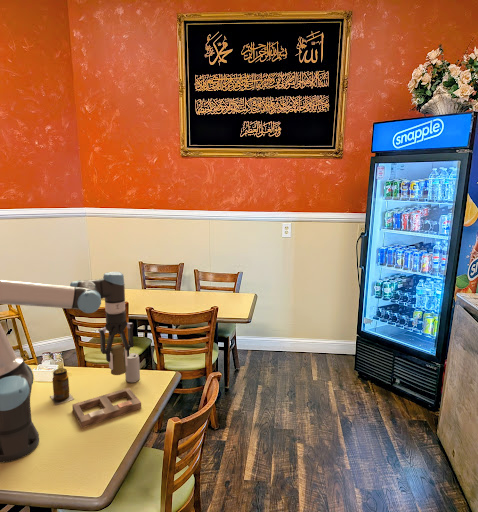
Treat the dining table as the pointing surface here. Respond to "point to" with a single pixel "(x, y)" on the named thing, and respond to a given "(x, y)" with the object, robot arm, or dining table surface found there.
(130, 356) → the beverage can
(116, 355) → the cork
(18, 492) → the dining table surface
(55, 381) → the condiment
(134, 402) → the caddy
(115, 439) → the dining table surface
